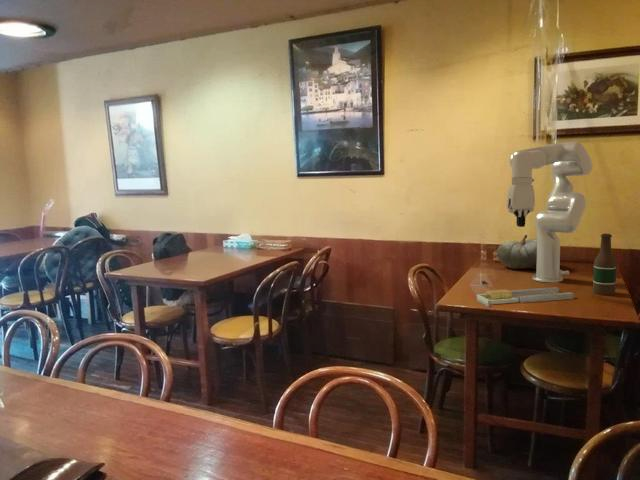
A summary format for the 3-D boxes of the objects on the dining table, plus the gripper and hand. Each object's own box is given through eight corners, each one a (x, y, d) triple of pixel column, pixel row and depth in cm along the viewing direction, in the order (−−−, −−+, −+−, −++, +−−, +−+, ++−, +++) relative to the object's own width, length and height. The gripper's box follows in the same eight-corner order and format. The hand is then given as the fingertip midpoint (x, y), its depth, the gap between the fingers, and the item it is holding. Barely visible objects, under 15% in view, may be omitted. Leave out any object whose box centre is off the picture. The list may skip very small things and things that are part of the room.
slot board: (554, 293, 196) (554, 286, 196) (574, 300, 185) (574, 293, 184) (504, 297, 193) (504, 290, 193) (520, 305, 181) (520, 298, 181)
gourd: (561, 266, 237) (555, 231, 236) (512, 276, 236) (505, 242, 236) (538, 262, 262) (531, 230, 261) (493, 271, 261) (486, 240, 261)
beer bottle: (614, 296, 189) (617, 235, 185) (592, 294, 193) (594, 234, 190) (615, 292, 195) (618, 233, 192) (593, 290, 199) (595, 232, 196)
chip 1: (496, 299, 189) (496, 289, 188) (501, 302, 185) (501, 292, 184) (486, 300, 188) (486, 290, 187) (491, 303, 184) (491, 293, 184)
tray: (504, 298, 192) (504, 292, 192) (518, 304, 182) (518, 298, 182) (476, 300, 190) (476, 294, 190) (488, 307, 181) (488, 300, 180)
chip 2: (506, 299, 189) (506, 289, 188) (511, 301, 185) (511, 291, 184) (496, 300, 188) (496, 290, 188) (501, 302, 184) (502, 292, 184)
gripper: (533, 181, 202) (532, 224, 205) (499, 182, 200) (499, 226, 203) (544, 181, 195) (542, 226, 197) (509, 182, 193) (508, 228, 195)
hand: (520, 226), depth 200 cm, fingers closed
